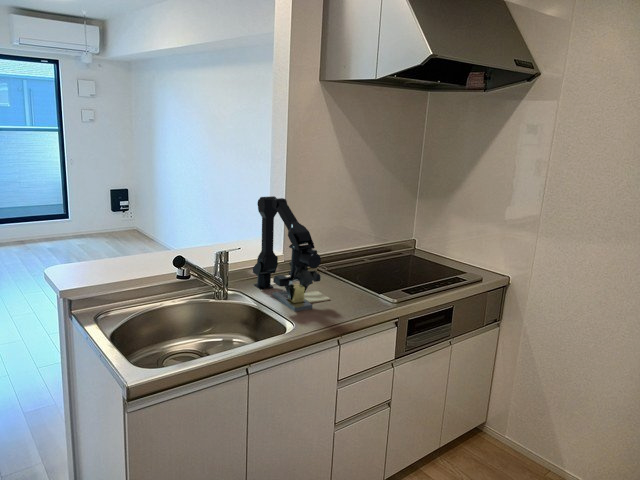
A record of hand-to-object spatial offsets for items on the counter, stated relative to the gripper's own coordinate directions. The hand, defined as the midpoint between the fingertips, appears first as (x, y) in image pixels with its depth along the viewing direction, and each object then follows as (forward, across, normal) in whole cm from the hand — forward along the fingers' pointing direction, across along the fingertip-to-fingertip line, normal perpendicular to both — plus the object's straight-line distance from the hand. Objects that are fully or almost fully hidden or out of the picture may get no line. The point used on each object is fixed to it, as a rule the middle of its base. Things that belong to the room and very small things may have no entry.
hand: (296, 298), depth 195 cm
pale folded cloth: (+2, +11, +4) cm, 12 cm away
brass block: (+2, 0, 0) cm, 2 cm away
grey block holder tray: (+2, 0, +3) cm, 4 cm away
